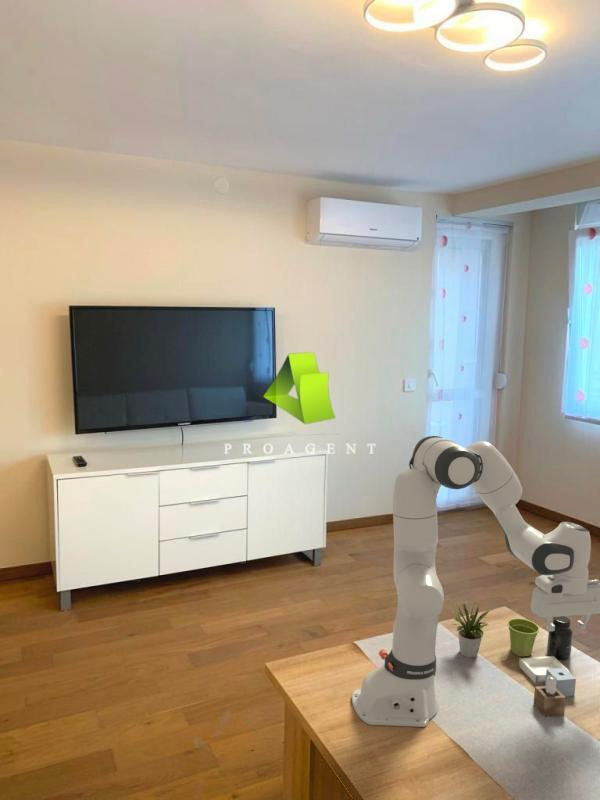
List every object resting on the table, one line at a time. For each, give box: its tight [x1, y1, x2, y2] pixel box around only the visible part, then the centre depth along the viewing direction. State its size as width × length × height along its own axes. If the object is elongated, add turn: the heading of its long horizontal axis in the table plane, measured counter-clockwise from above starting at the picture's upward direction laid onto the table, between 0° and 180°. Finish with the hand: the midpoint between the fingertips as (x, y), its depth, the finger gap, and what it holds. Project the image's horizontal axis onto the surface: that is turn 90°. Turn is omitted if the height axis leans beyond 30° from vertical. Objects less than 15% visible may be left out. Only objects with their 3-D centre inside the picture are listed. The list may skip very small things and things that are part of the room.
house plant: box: [449, 599, 494, 658], centre depth 194 cm, size 14×14×16 cm
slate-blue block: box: [544, 668, 577, 697], centre depth 176 cm, size 6×6×5 cm
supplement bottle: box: [546, 616, 574, 662], centre depth 194 cm, size 7×7×12 cm
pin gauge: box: [545, 675, 557, 697], centre depth 167 cm, size 2×2×9 cm
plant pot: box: [507, 618, 540, 658], centre depth 196 cm, size 9×9×9 cm
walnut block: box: [533, 685, 567, 718], centre depth 167 cm, size 6×6×5 cm
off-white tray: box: [518, 655, 572, 684], centre depth 185 cm, size 11×9×2 cm
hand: (565, 629), depth 174 cm, fingers open, 8 cm apart
